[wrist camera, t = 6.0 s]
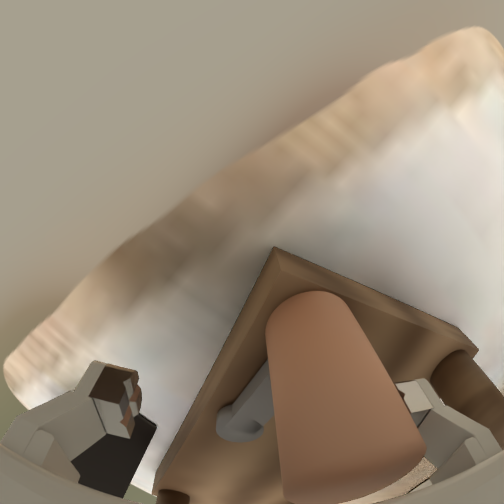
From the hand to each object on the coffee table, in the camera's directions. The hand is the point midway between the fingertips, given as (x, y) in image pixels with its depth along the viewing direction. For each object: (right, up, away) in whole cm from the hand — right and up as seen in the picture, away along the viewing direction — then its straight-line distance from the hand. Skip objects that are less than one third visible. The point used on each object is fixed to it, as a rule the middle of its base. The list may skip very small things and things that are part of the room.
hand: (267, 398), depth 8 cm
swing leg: (+1, -1, +5) cm, 5 cm away
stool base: (+2, -10, +12) cm, 16 cm away
